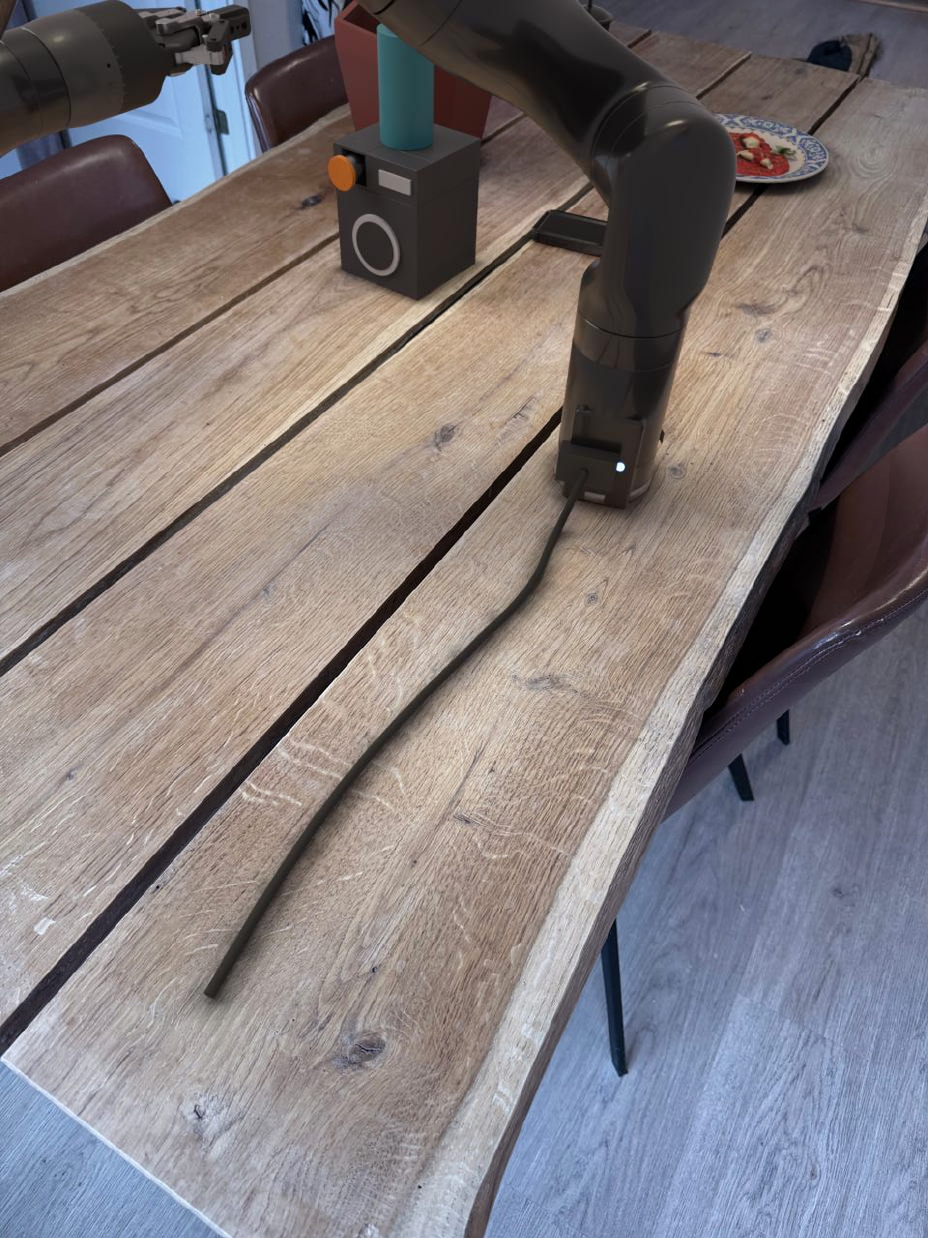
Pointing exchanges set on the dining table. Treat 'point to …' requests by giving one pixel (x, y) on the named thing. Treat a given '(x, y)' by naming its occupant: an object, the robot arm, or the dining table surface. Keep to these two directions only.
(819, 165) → the ceramic plate
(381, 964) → the dining table surface
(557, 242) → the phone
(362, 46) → the bucket
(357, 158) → the power button
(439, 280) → the washer
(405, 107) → the detergent bottle
